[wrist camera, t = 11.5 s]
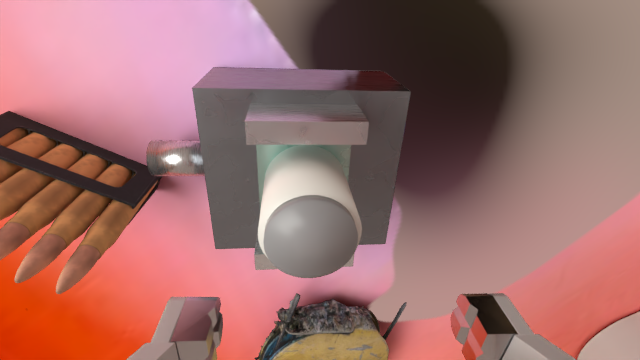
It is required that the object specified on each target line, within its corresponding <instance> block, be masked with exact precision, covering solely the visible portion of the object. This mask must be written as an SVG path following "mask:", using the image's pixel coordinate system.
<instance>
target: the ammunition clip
mask: <svg viewBox="0 0 640 360" xmlns="http://www.w3.org/2000/svg"><path fill="white" fill-rule="evenodd" d="M160 179H161V176H152V175H151V173H150V172H149V169H148V166H146V165H143V164H141V163H138V162H135V161H133V160H130V159H128V158H125V157H123V156H120V155H118V154H115V153H113V152H110V151H108V150H105V149H103V148H100V147H98V146H95V145H93V144H90V143H88V142H85V141H83V140H80V139H78V138H75V137H73V136H70V135H68V134H65V133H63V132H60V131H58V130H55V129H53V128H50V127H48V126H45V125H43V124H40V123H38V122H35V121H33V120H30V119H28V118H25V117H23V116H20V115H18V114H15V113H13V112H10V111H8V112H6V113H3V114H1V115H0V220H2V219H4V218H6V217H8V216H10V215H12V214H13V213H15V212H16V211H18V212H17V213H16V214H15V216H14V217H13V218H11V219H10V220H9V221H8V222H7V223H6V224H5V225H4V226H3V227H2V228H1V229H0V260H1V259H2V258H4V257H6V256H7V255H8V254H10V253H11V252H13V251H14V250H15V249H17V248H18V247H19V246H20V245H21V244H22V243H24V242H25V241H26V240H27V239H29V238H30V237H31V236H32V235H34V234H35V233H36V232H37V231H38V230H40V229H42V228H43V227H45V226H47V225H48V224H50V223H51V222H52V221H53V220H54V219H55V218H56V217H57V218H56V219H55V220H54V222H53V224H52V226H51V227H50V228H49V229H48V230H47V232H46V233H45V234H44V235H43V236H42V238H41V239H40V240H39V241H38V242H37V243H36V244H35V245H34V246H33V247H32V249H31V250H30V251H29V252H28V254H27V255H26V256H25V258H24V260H23V261H22V263H21V265H20V267H19V268H18V270H17V273H16V276H15V282H16V283H21V282H23V281H25V280H27V279H29V278H31V277H33V276H34V275H36V274H37V273H39V272H40V271H41V270H43V269H44V268H45V267H47V266H48V265H49V264H50V263H51V262H52V261H53V260H54V259H56V258H57V256H58V255H59V254H60V253H61V252H62V251H63V250H64V249H66V248H67V247H68V246H69V245H70V244H71V243H72V241H73V240H75V239H76V238H78V237H79V236H81V235H82V234H83V233H84V232H85V231H86V230H87V229H88V227H89V226H90V225H91V224H92V223H93V222H94V221H95V219H96V218H97V217H98V216H99V217H98V218H97V219H96V221H95V222H94V223H93V224H92V225H91V227H90V228H89V229H88V231H87V233H86V235H85V237H84V239H83V241H82V242H81V243H80V245H79V246H78V248H77V249H76V251H75V252H74V253H73V255H72V256H71V257H70V259H69V260H68V262H67V264H66V265H65V267H64V268H63V270H62V272H61V274H60V277H59V279H58V282H57V285H56V293H57V294H61V293H63V292H65V291H67V290H68V289H70V288H71V287H72V286H74V285H75V284H76V283H77V282H79V281H80V280H81V279H82V278H83V277H84V276H85V275H86V274H87V273H88V272H89V271H90V269H91V268H92V267H93V266H94V264H95V263H96V262H97V260H98V259H100V257H101V256H102V255H103V254H104V252H105V251H106V250H107V249H108V248H110V247H111V246H112V245H113V244H114V243H115V242H116V240H117V239H118V237H119V236H120V235H121V233H122V232H123V230H124V229H125V227H126V226H127V225H128V224H129V223H130V222H131V220H132V219H133V218H134V217H135V215H136V214H137V213H138V212H139V211H140V209H141V208H142V207H143V206H144V204H145V203H146V202H147V201H148V199H149V198H150V197H151V196H152V194H153V193H154V192H155V191H156V189H157V186H158V184H159V181H160ZM110 202H111V203H110ZM109 203H110V204H109ZM108 204H109V205H108Z"/></svg>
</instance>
